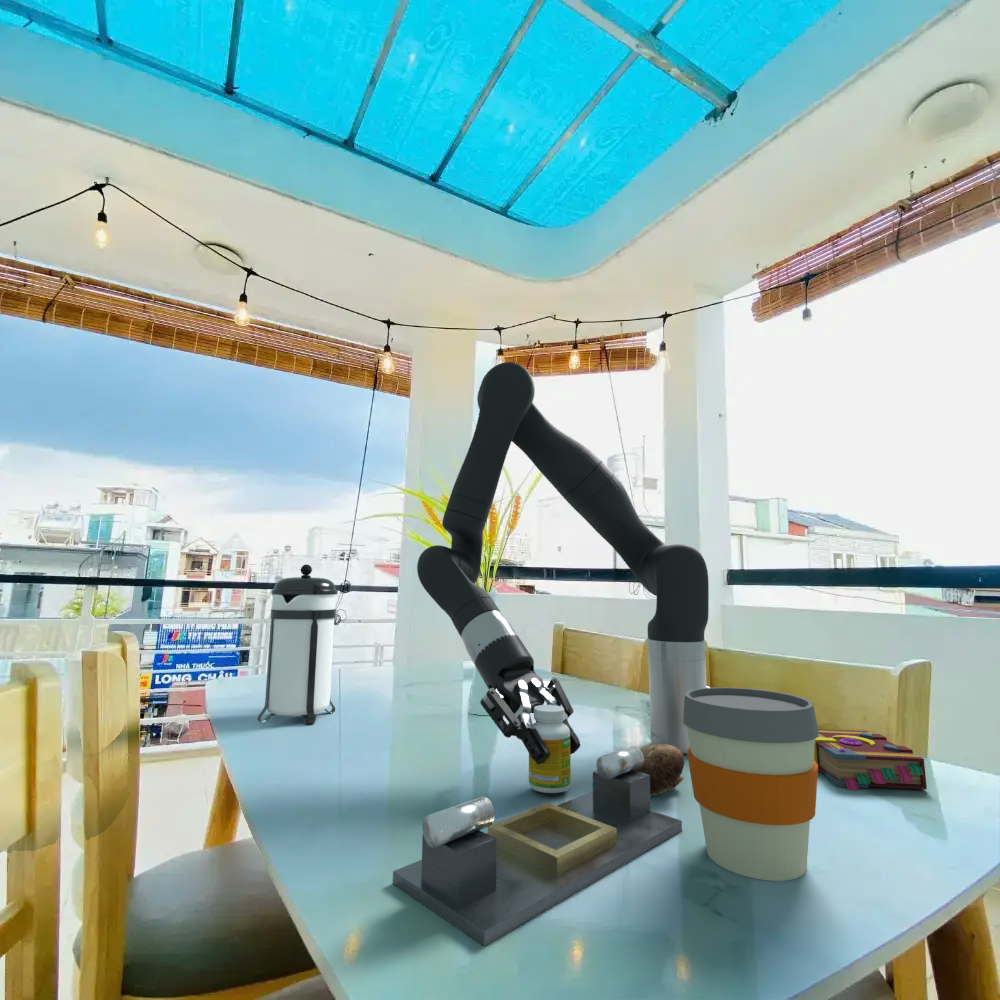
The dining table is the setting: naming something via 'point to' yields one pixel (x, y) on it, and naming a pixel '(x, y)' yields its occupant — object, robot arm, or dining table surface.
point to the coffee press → (300, 647)
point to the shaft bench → (533, 850)
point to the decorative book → (867, 761)
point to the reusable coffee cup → (753, 778)
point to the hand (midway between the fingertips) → (560, 754)
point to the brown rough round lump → (662, 767)
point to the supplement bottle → (551, 751)
